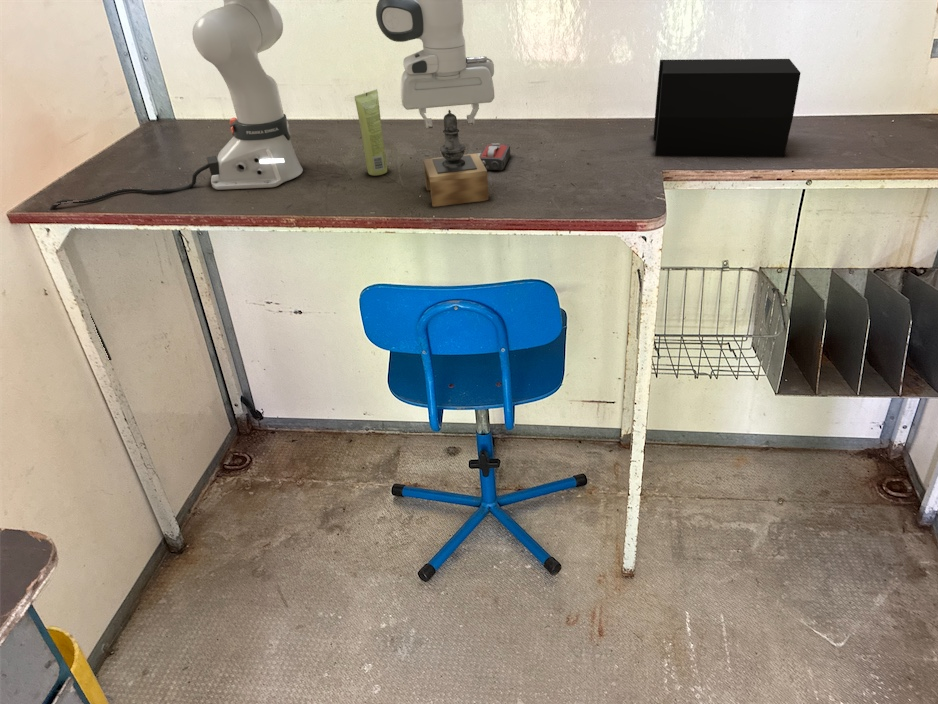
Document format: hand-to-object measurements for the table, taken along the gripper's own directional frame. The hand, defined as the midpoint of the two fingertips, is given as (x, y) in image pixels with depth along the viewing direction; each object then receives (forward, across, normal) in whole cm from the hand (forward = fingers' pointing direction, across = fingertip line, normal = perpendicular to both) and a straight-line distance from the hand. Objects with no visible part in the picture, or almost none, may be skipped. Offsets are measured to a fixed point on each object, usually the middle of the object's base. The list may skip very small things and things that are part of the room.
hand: (450, 125), depth 158 cm
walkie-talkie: (+16, -11, -15) cm, 24 cm away
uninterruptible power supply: (+15, -72, -10) cm, 74 cm away
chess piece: (+9, 0, 0) cm, 9 cm away
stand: (+16, 0, 0) cm, 16 cm away
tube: (+16, +17, -20) cm, 31 cm away
